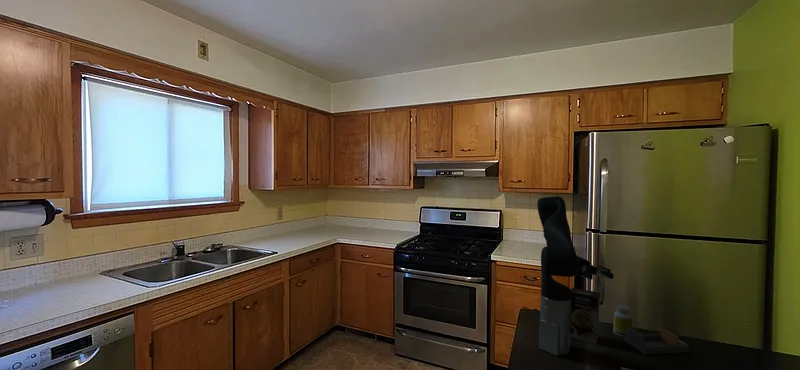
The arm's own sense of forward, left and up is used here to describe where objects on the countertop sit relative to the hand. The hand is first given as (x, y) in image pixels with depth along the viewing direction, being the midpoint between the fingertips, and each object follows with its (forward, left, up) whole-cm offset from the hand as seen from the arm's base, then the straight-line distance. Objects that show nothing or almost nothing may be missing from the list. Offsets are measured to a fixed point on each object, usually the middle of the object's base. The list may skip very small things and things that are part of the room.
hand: (602, 276), depth 135 cm
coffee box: (-20, -1, -17) cm, 26 cm away
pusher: (-4, -22, -17) cm, 28 cm away
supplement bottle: (-7, -9, -17) cm, 21 cm away
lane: (-7, -20, -17) cm, 27 cm away
